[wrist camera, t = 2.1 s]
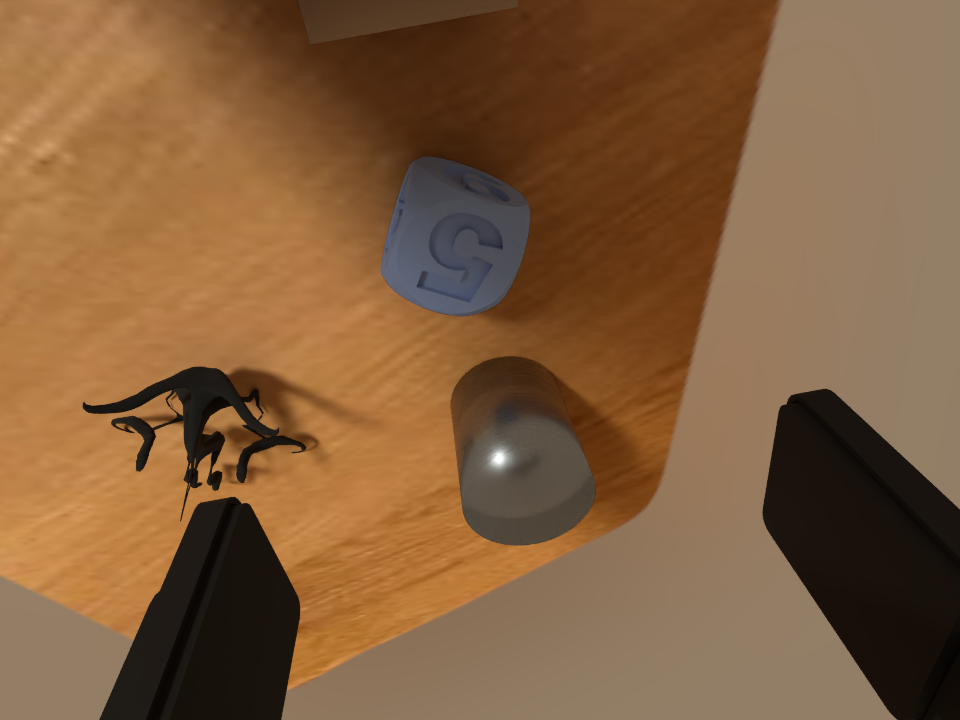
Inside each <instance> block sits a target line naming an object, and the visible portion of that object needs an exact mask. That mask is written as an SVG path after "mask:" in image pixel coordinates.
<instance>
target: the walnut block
mask: <svg viewBox="0 0 960 720" xmlns="http://www.w3.org/2000/svg"><path fill="white" fill-rule="evenodd" d="M298 3H299V7H300V11H301V14H302V18H303V21H304V25H305V29H306V32H307V36H308V40H309V43H310V45H311V44H317V43H323V42H328V41H334V40H339V39H345V38H350V37H356V36H361V35H367V34H372V33H378V32H384V31H389V30H395V29H400V28H406V27H411V26H417V25H422V24H428V23H433V22H439V21H445V20H450V19H456V18H461V17H467V16H472V15H478V14H483V13H489V12H494V11H500V10H506V9H511V8H517V7H518V0H298Z"/></svg>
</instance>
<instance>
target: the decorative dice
mask: <svg viewBox="0 0 960 720" xmlns="http://www.w3.org/2000/svg"><path fill="white" fill-rule="evenodd" d="M529 227H530V208H529V205H528V203H527V200H526V199H525V197H524V196H523V195H522V194H521V193H520V192H518V191H517V190H516V189H514V188H513V187H511V186H510V185H508V184H506V183H505V182H503V181H501V180H499V179H497V178H495V177H493V176H491V175H489V174H487V173H485V172H482V171H480V170H478V169H475V168H472V167H470V166H467V165H464V164H461V163H458V162H455V161H451V160H447V159H443V158H438V157H421V158H419V159H417V160H414V161H412V162H411V164H410V166H409V168H408V170H407V172H406V175H405V178H404V180H403V183H402V186H401V189H400V192H399V195H398V198H397V202H396V205H395V208H394V212H393V215H392V219H391V223H390V227H389V230H388V234H387V239H386V243H385V247H384V252H383V257H382V263H381V274H382V276H383V278H384V279H385V281H386V282H387V284H388V285H389V286H390V287H391V288H392V289H393V290H394V291H395V292H396V293H398V294H399V295H400V296H402V297H403V298H405V299H407V300H408V301H410V302H412V303H414V304H416V305H418V306H421V307H423V308H425V309H428V310H431V311H434V312H437V313H441V314H446V315H452V316H471V315H475V314H478V313H481V312H484V311H486V310H488V309H490V308H492V307H494V306H496V305H497V304H498V303H500V302H501V301H502V299H503V298H504V297H505V295H506V294H507V292H508V291H509V289H510V287H511V285H512V283H513V281H514V279H515V277H516V274H517V272H518V270H519V267H520V264H521V261H522V258H523V255H524V252H525V248H526V244H527V239H528V234H529Z"/></svg>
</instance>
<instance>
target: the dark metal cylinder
mask: <svg viewBox="0 0 960 720" xmlns="http://www.w3.org/2000/svg"><path fill="white" fill-rule="evenodd" d="M451 415H452V423H453V432H454V440H455V449H456V457H457V466H458V475H459V483H460V492H461V500H462V509H463V514H464V517H465V520H466V521H467V523H468V525H469V526H470V527H471V528H472V529H473V530H474V531H475V532H476V533H477V534H479V535H480V536H482V537H483V538H486V539H488V540H490V541H493V542H496V543H500V544H505V545H531V544H537V543H541V542H545V541H548V540H551V539H554V538H556V537H558V536H560V535H562V534H564V533H566V532H568V531H569V530H571V529H572V528H573V527H575V526H576V525H577V524H578V523H579V522H580V521H581V520H582V519H583V518H584V517H585V516H586V515H587V513H588V512H589V510H590V508H591V507H592V504H593V502H594V499H595V494H596V486H595V481H594V478H593V475H592V472H591V470H590V467H589V465H588V462H587V459H586V457H585V454H584V452H583V449H582V447H581V444H580V441H579V439H578V436H577V434H576V431H575V429H574V426H573V423H572V421H571V418H570V416H569V413H568V411H567V408H566V405H565V403H564V400H563V398H562V395H561V393H560V390H559V387H558V385H557V382H556V380H555V378H554V377H553V375H552V374H551V373H550V371H548V370H547V369H546V368H545V367H544V366H542V365H541V364H539V363H537V362H535V361H533V360H530V359H527V358H523V357H515V356H506V357H498V358H494V359H490V360H488V361H485V362H482V363H480V364H478V365H477V366H475V367H473V368H472V369H471V370H469V371H468V372H467V373H466V374H465V375H464V376H463V377H462V378H461V379H460V380H459V382H458V383H457V385H456V387H455V389H454V391H453V394H452V397H451Z"/></svg>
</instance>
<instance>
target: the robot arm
mask: <svg viewBox="0 0 960 720" xmlns="http://www.w3.org/2000/svg"><path fill="white" fill-rule="evenodd" d="M763 519H764V523H765V526H766V528H767V530H768V531H769V533H770V535H771V536H772V538H773V539H774V540H775V542H776V544H777V545H778V547H779V548H780V550H781V551H782V553H783V554H784V556H785V557H786V559H787V560H788V562H789V563H790V565H791V566H792V568H793V569H794V571H795V572H796V573H797V575H798V576H799V578H800V579H801V581H802V582H803V584H804V585H805V587H806V588H807V590H808V591H809V593H810V594H811V596H812V597H813V599H814V600H815V602H816V603H817V605H818V606H819V608H820V609H821V611H822V612H823V614H824V615H825V617H826V618H827V620H828V621H829V623H830V624H831V626H832V627H833V629H834V630H835V631H836V633H837V635H838V636H839V638H840V639H841V641H842V642H843V644H844V645H845V646H846V648H847V650H848V651H849V652H850V654H851V656H852V657H853V658H854V660H855V662H856V663H857V665H858V666H859V668H860V669H861V671H862V672H863V673H864V675H865V677H866V678H867V680H868V681H869V682H870V684H871V685H872V687H873V688H874V690H875V691H876V693H877V694H878V696H879V697H880V699H881V700H882V702H883V703H884V705H885V706H886V708H887V709H888V710H889V712H890V713H891V714H892V715H893V716H894V717H895V718H896V719H897V720H960V509H959V508H958V507H957V506H955V505H954V504H953V503H952V502H951V501H950V500H949V499H948V498H947V497H946V496H945V495H944V494H942V492H940V491H939V490H938V489H937V488H936V487H935V486H934V485H933V484H932V483H931V482H930V481H929V480H927V478H925V477H924V476H923V475H922V474H921V473H920V472H919V471H918V470H917V469H916V468H915V467H914V466H913V465H911V464H910V463H909V462H908V461H907V460H906V459H905V458H904V457H903V456H902V455H901V454H900V453H899V452H897V451H896V450H895V449H894V448H893V447H892V446H891V445H890V444H889V443H888V442H887V441H885V440H884V439H883V438H882V437H881V436H880V435H879V434H878V433H877V432H876V431H875V430H874V429H873V428H872V427H871V426H870V425H868V424H867V423H866V422H865V421H864V420H863V419H862V418H861V417H860V416H859V415H858V414H856V413H855V412H854V411H853V410H852V409H851V408H850V407H849V406H848V405H847V404H846V403H845V402H844V401H842V399H840V398H839V397H838V396H837V395H836V394H835V393H834V392H832V391H831V390H828V389H821V390H816V391H810V392H804V393H799V394H795V395H791V396H790V397H789V399H788V402H787V404H786V405H782V406H781V407H780V410H779V414H778V419H777V426H776V432H775V438H774V444H773V450H772V456H771V462H770V468H769V475H768V480H767V486H766V493H765V499H764V505H763ZM299 619H300V603H299V598H298V596H297V594H296V592H295V590H294V588H293V586H292V584H291V582H290V580H289V578H288V576H287V574H286V572H285V571H284V569H283V567H282V565H281V563H280V561H279V559H278V557H277V555H276V553H275V551H274V549H273V548H272V546H271V544H270V542H269V540H268V538H267V536H266V534H265V532H264V530H263V528H262V526H261V525H260V523H259V521H258V519H257V517H256V515H255V513H254V511H253V509H252V507H251V506H250V505H249V504H248V503H243V504H241V502H240V501H239V500H238V499H237V498H236V497H229V498H224V499H218V500H213V501H207V502H202V503H200V504H198V505H197V507H196V508H195V510H194V512H193V515H192V517H191V519H190V522H189V524H188V526H187V529H186V531H185V533H184V536H183V538H182V540H181V543H180V545H179V547H178V550H177V552H176V554H175V557H174V559H173V561H172V564H171V566H170V568H169V571H168V573H167V575H166V578H165V580H164V582H163V585H162V587H161V589H160V591H159V592H158V593H157V594H156V595H155V596H154V598H153V600H152V601H151V603H150V605H149V607H148V609H147V611H146V614H145V616H144V618H143V621H142V623H141V625H140V628H139V630H138V632H137V634H136V637H135V639H134V641H133V644H132V646H131V648H130V651H129V653H128V655H127V658H126V660H125V662H124V664H123V667H122V669H121V671H120V674H119V676H118V678H117V680H116V683H115V685H114V688H113V690H112V692H111V694H110V697H109V699H108V701H107V703H106V706H105V708H104V710H103V713H102V715H101V717H100V720H281V717H282V712H283V707H284V701H285V696H286V690H287V685H288V680H289V674H290V669H291V663H292V658H293V652H294V647H295V641H296V636H297V630H298V625H299Z"/></svg>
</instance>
